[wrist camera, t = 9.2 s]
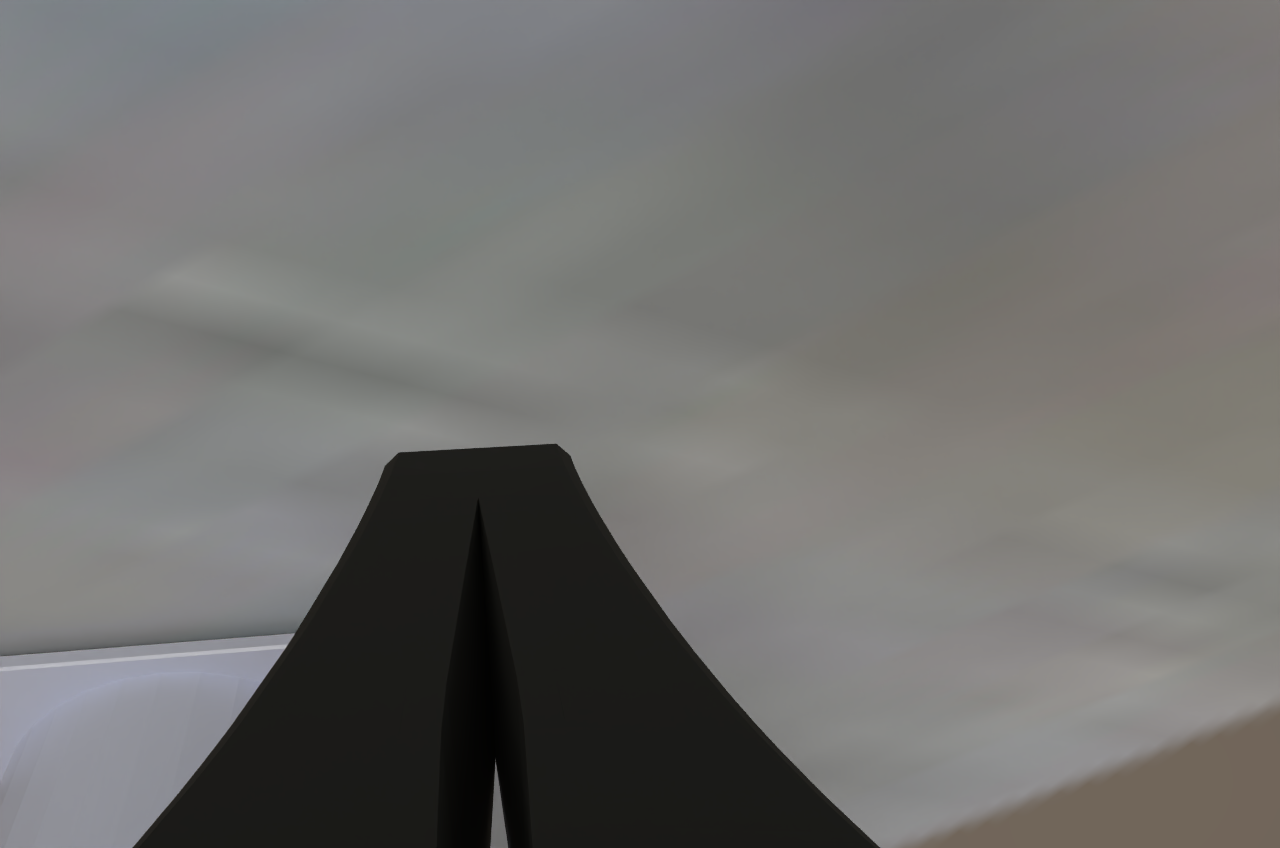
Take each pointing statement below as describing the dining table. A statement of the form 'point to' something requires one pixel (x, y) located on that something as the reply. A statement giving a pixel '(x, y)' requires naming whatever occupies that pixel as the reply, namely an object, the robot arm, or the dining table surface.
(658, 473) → the dining table surface
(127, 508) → the dining table surface
